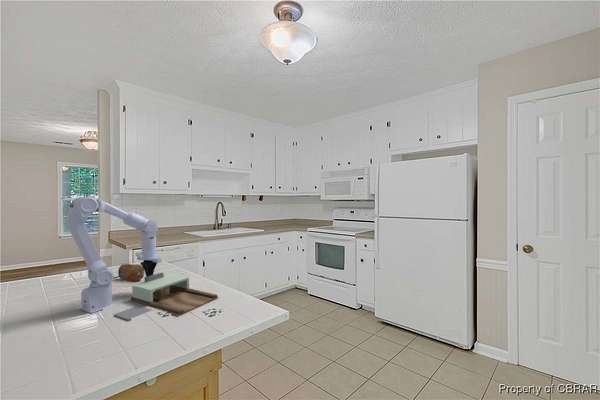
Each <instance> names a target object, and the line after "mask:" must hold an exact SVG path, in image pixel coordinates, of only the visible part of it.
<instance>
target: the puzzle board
mask: <svg viewBox="0 0 600 400" xmlns="http://www.w3.org/2000/svg"><path fill="white" fill-rule="evenodd" d="M217 299H219V296H218V294H216V293H211V292H207V291H203V290H202V291H201V290H198V289H193V288H190V287H189V288H188V289H186V288H182V287H178V286H173V285H170V286H169V295H167V296H164V297H161V298H160V297H156V296H155V291H153V302H148V301H144V300H141V299H137V298H134V297H132V296H131V297H130V300H129V302H133V303H137V304H138V305H143V306H145V307H150V308H153V309H157V310H160V311H163V312H166V313H170V315H172V316H175V317H181V316H182V315H185V314H187V313H189V312H191V311H193V310H195V309H198V308H199V307H202V306H205V305H206V304H208V303H211V302H213V301H215V300H217Z"/></svg>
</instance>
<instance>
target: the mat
mask: <svg viewBox="0 0 600 400" xmlns="http://www.w3.org/2000/svg"><path fill="white" fill-rule="evenodd" d="M151 311H152V308H147V307H146V306H145V307H144V306H141V305H136V306H132V307H129V308H128V309H125V310H121V311H120V312H119V311H118V312H117V313H114V314H113V316H114V317H115V316H116V317H115V318H118V317H119V318H118V319H121V318H122V319H121V320H124V319H125V320H124V321H127V322H130V321H132V319H133V318H135V317H136V318H137V317H138V316H141V315H143V314H144V315H145V314H146V313H148V312H151ZM129 320H130V321H129Z"/></svg>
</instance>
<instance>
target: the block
mask: <svg viewBox="0 0 600 400" xmlns="http://www.w3.org/2000/svg"><path fill="white" fill-rule="evenodd" d="M154 292H155V296H156V297H160V298H161V297H164V296H167V295H169V286H167V287H164V288H161V289H158V290H155V291H154Z"/></svg>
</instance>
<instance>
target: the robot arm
mask: <svg viewBox="0 0 600 400" xmlns="http://www.w3.org/2000/svg"><path fill="white" fill-rule="evenodd" d="M95 212H98V213H100V212H101V213H102V212H103V213H106V214H108V215H111V216H113V217H115V218H118V219H121V220H122V221H123V224H125V225H127V226H129V227H132V228H134V229H136V230H139V231H140V232H141V254H139V255H137V256H136V257H137V259H136V260H137V261H139V260H140V261H142V262H140V265H141V266H142V267H143V268H144V275H145V277H147V276H151V275H154V273H155V269H156V267H157V265H158V264H160V263H162V262H163V261H162V259H163V258H162V257H160V256H159V254H157V231H158V230H159V226H158V224H157V222H156V221H154V220H151V219H149V217H147V216H145V217H144V216H142V215H141V214H139V212H137V211H130V212H126V211H124V210H122V209H120V208H118V207H116V206H114V205H112V204H110V203H108V202H106V201H104V200H101V199H96V198H95V197H92V196H78V197H75V198H74V199H73V200H72V201H71V203H70V204H69V205H68V212H67V217H66V220H65V223H66V226H67V227H66V228H67V229H68V230H69V232H70V234H71V236H72V238H73V240H74V242H75V244H76V246H77V248H78V250H79V252H80V254H81V255H82V258H83V260H84V262H85V264H86V270H87V273H88V274H87V277H88V280H89V281H90V283H89V286H88V287H86V288H83V289H82V290H81V294H80V295H81V299H80V300H81V303H80V304H81V308H80V311H81V310H82V311H84V312H87V313H89V314H93V313H96V312H99V311H102V310H103V309H105V308H106V309H107V308H108V307H111V306H115V305H118V302H115V301H113V281H114V276H115V275H114V272H113V271H112V270H111V269H109V268H108V266H107V264H106V263H105V262H104V261H103V259H102V257H101V255H100V253H99V251H98V249H97V247H96V245H95V243H94V240H93V239H92V237H91V234H90V233H89V231H88V229H87V227H86V221H88V218H89V217H90V216H91V215H92V214H94V213H95Z"/></svg>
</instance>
